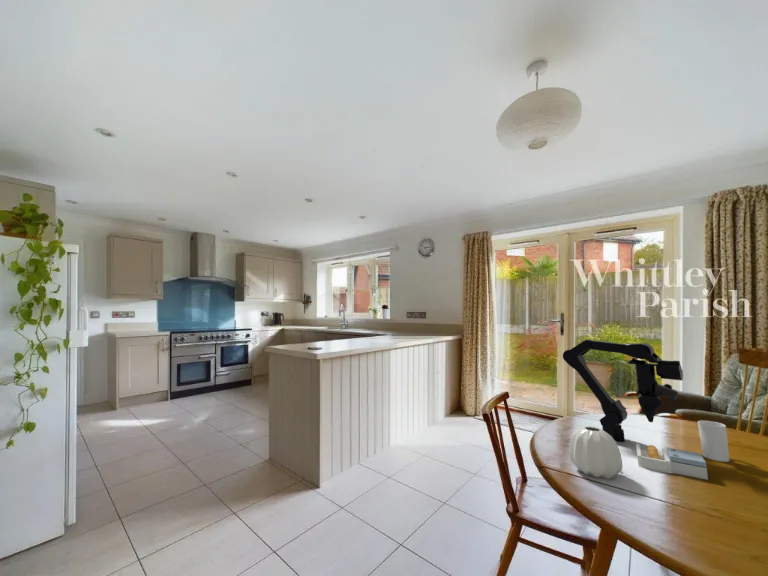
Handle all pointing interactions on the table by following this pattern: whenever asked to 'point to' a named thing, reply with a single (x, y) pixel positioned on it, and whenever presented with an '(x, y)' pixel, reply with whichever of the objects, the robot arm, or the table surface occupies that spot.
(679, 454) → the cover
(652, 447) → the orange rounded block
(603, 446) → the vase
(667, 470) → the white open box
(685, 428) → the table surface
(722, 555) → the table surface
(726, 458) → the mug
